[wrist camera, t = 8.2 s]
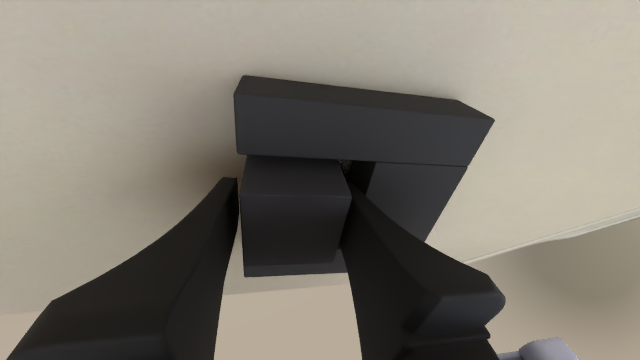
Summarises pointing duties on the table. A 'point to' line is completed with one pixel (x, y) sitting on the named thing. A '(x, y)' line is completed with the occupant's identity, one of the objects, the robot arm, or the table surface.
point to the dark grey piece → (363, 146)
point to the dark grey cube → (292, 210)
